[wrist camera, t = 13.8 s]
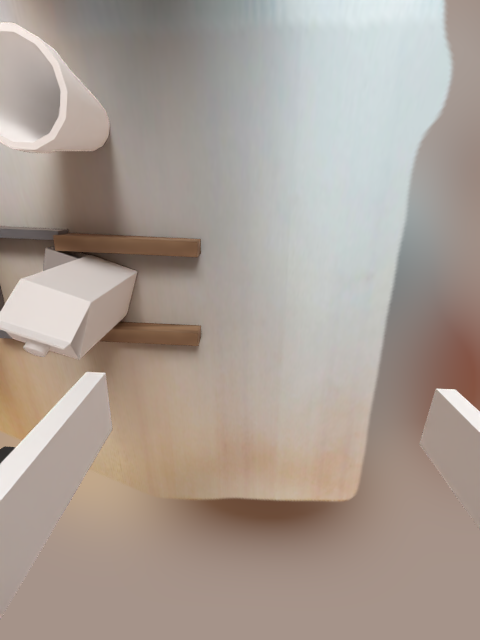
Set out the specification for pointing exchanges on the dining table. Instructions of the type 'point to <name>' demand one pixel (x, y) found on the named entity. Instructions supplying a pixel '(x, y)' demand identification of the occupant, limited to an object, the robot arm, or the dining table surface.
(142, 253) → the channel
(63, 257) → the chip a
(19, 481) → the robot arm
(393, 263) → the dining table surface
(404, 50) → the dining table surface
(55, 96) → the foam cup
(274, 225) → the dining table surface
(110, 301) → the milk carton
